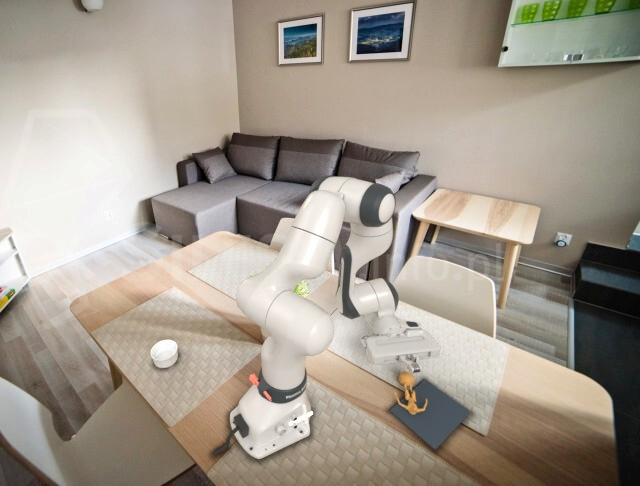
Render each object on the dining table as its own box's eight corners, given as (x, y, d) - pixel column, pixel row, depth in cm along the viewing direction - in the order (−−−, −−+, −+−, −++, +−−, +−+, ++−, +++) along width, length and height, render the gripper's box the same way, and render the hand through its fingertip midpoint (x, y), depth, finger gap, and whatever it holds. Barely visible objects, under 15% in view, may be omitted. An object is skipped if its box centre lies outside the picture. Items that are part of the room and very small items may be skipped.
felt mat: (434, 450, 77) (435, 449, 77) (389, 411, 87) (389, 409, 87) (469, 413, 85) (470, 411, 84) (424, 380, 94) (424, 379, 94)
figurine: (421, 372, 93) (435, 401, 82) (417, 390, 94) (430, 422, 83) (390, 365, 95) (400, 393, 83) (387, 383, 96) (395, 413, 85)
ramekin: (147, 366, 106) (144, 356, 105) (162, 346, 114) (159, 336, 112) (170, 372, 103) (168, 363, 101) (184, 351, 111) (182, 342, 109)
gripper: (358, 329, 98) (380, 367, 86) (424, 321, 99) (455, 358, 86) (357, 345, 101) (377, 383, 88) (421, 337, 102) (450, 374, 89)
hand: (416, 371), depth 87 cm, fingers closed
